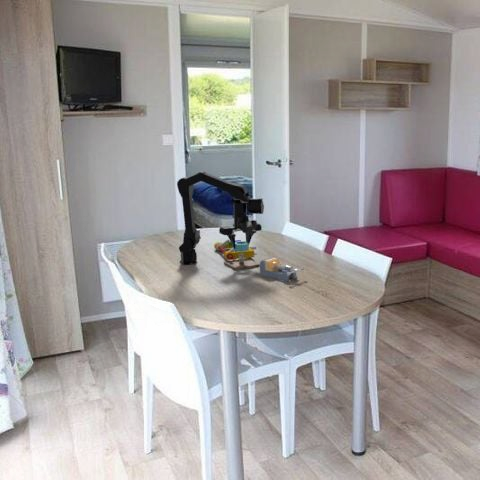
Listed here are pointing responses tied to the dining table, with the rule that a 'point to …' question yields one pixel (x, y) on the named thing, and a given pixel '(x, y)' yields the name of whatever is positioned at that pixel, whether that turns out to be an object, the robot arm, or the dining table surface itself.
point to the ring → (241, 246)
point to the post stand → (241, 263)
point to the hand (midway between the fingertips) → (241, 247)
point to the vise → (277, 270)
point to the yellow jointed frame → (231, 254)
